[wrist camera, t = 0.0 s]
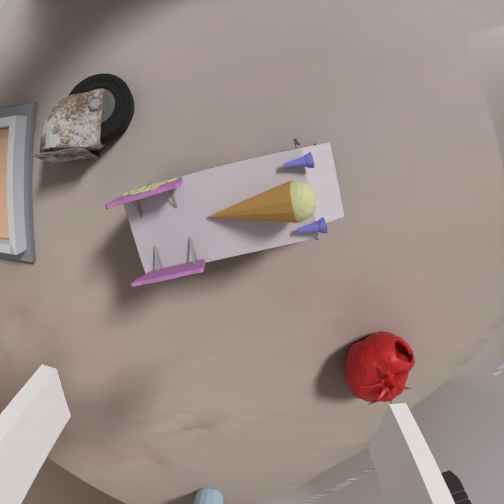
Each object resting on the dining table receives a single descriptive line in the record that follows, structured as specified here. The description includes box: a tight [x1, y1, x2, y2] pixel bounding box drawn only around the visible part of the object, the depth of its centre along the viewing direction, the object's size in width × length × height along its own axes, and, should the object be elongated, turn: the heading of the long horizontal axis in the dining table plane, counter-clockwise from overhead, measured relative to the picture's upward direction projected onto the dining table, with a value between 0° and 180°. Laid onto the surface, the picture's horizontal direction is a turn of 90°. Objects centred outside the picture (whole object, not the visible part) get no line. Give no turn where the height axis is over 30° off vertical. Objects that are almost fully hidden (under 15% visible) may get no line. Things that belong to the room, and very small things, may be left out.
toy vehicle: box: [105, 138, 344, 287], centre depth 29 cm, size 9×20×15 cm, turn 103°
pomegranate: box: [345, 332, 415, 405], centre depth 38 cm, size 10×10×9 cm
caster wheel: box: [31, 74, 134, 163], centre depth 31 cm, size 7×11×10 cm
